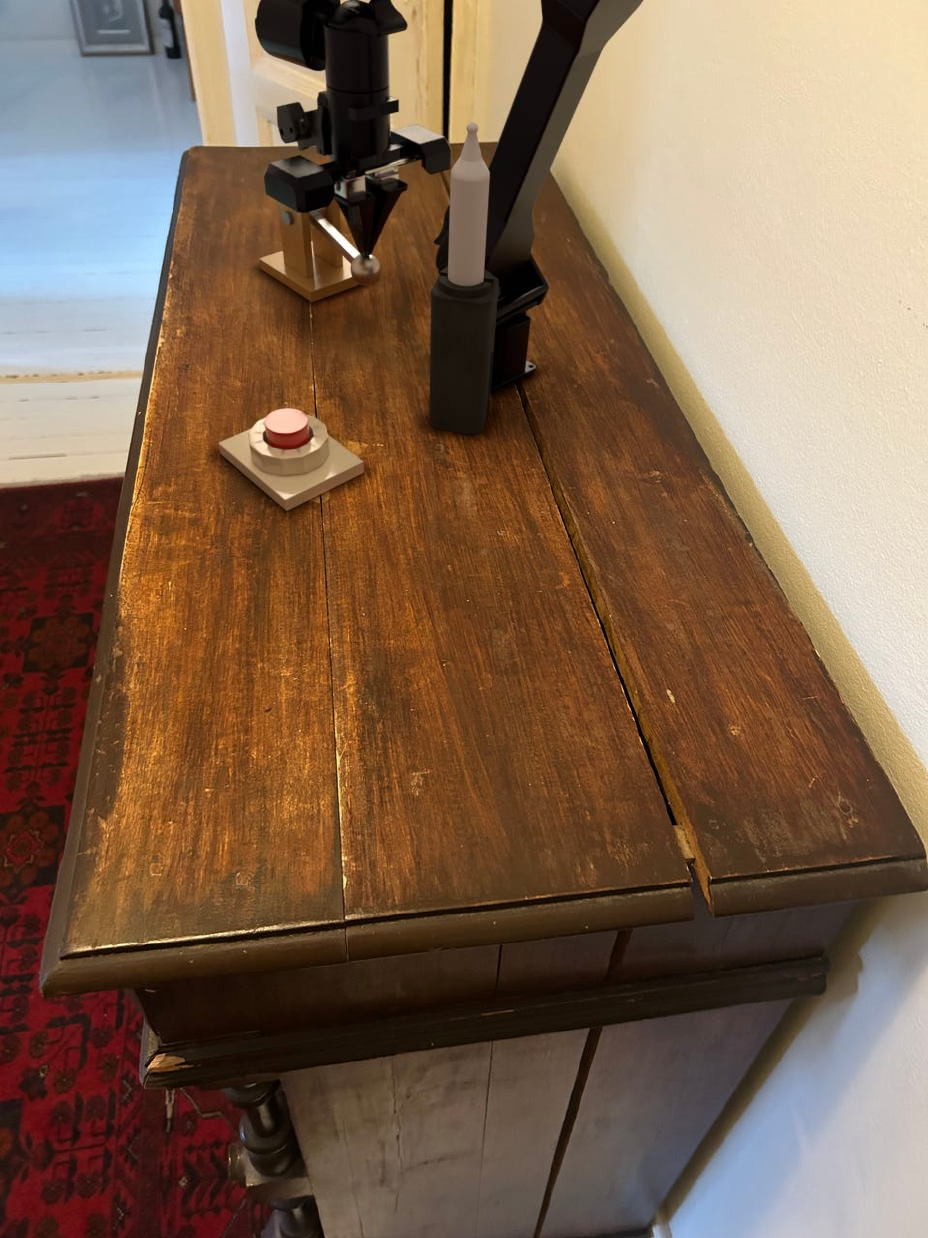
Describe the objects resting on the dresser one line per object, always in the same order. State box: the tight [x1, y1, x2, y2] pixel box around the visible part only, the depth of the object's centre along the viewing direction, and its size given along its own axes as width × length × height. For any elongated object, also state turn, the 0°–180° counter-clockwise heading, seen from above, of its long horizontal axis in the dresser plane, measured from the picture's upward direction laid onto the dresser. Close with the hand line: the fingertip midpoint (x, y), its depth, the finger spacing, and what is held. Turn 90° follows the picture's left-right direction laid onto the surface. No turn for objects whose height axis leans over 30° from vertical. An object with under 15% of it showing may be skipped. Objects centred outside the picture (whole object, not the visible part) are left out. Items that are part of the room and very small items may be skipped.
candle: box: [428, 121, 499, 435], centre depth 72 cm, size 5×5×25 cm
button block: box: [217, 414, 365, 512], centre depth 74 cm, size 10×8×3 cm
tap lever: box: [309, 207, 382, 287], centre depth 92 cm, size 13×3×3 cm, turn 43°
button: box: [264, 407, 310, 450], centre depth 72 cm, size 4×4×2 cm
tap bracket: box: [258, 199, 360, 303], centre depth 95 cm, size 10×8×9 cm
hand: (365, 254), depth 90 cm, fingers closed, pressing on tap lever
